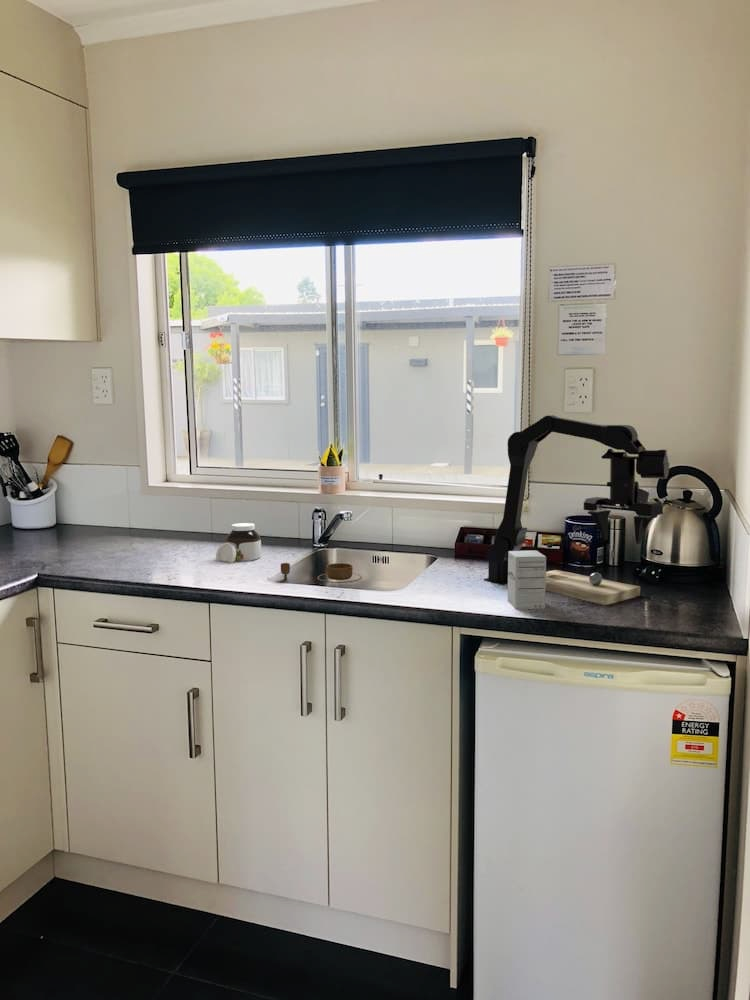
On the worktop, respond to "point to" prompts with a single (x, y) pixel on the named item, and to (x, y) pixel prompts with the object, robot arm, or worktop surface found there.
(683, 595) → the worktop surface
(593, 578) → the steel ball
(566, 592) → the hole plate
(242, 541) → the spread jar
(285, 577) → the place setting
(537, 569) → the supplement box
